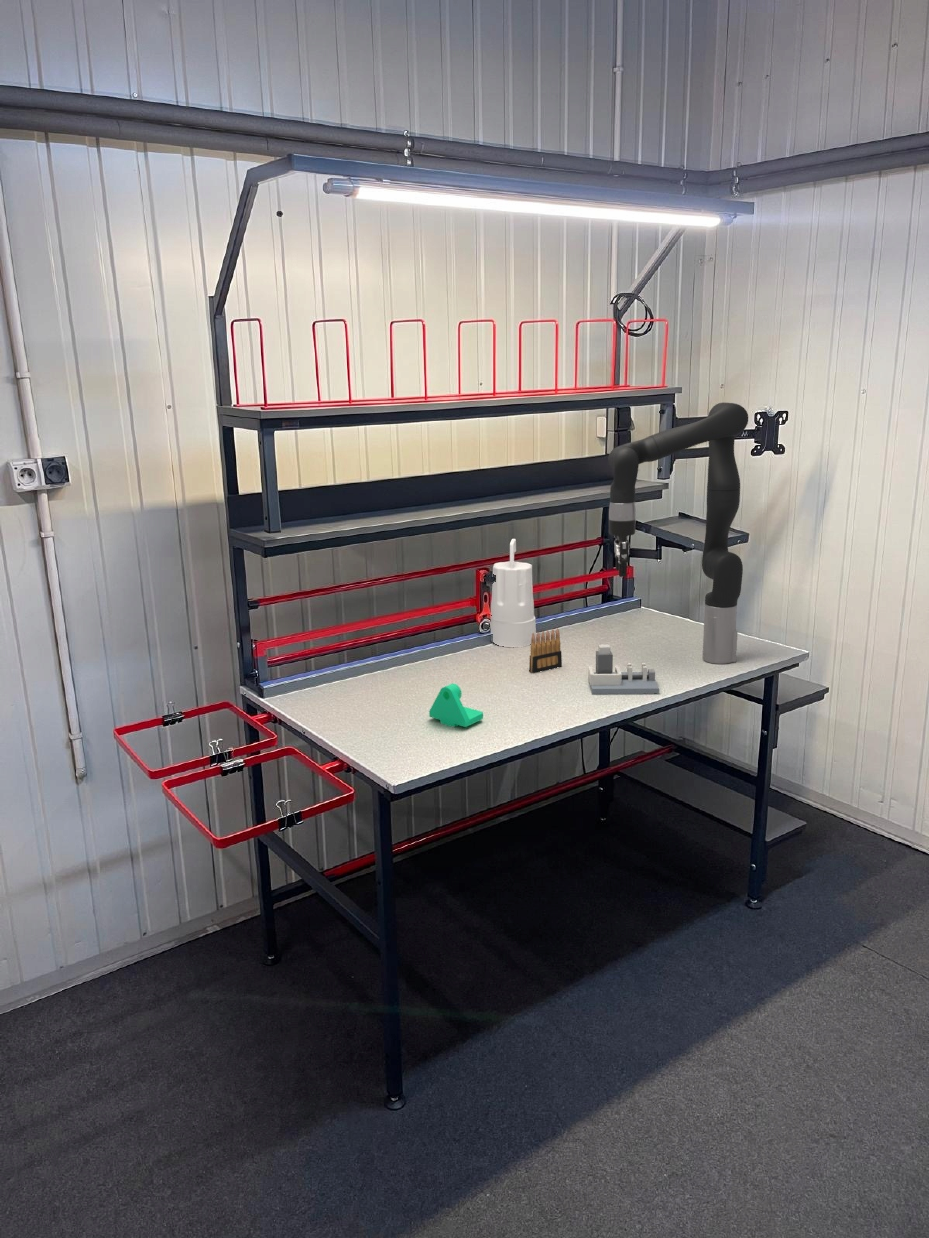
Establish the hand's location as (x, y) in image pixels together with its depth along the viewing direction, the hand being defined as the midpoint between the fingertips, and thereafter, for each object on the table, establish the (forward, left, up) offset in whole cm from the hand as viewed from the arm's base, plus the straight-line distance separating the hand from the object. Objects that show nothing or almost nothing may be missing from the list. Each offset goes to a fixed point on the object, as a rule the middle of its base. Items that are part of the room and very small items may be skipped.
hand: (621, 573), depth 261 cm
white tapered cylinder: (+32, -27, -28) cm, 51 cm away
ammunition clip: (+22, +3, -28) cm, 36 cm away
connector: (+6, +18, -26) cm, 33 cm away
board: (+1, +18, -28) cm, 33 cm away
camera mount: (+46, +44, -28) cm, 69 cm away
